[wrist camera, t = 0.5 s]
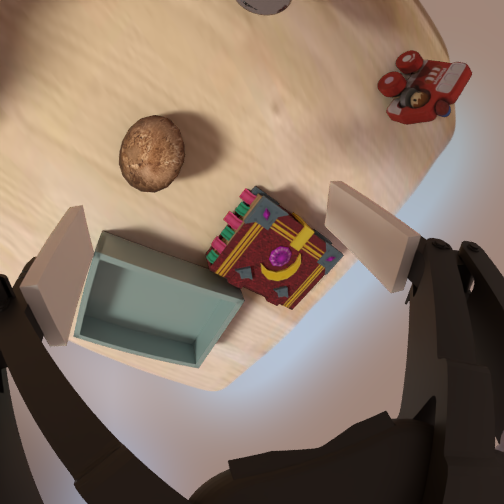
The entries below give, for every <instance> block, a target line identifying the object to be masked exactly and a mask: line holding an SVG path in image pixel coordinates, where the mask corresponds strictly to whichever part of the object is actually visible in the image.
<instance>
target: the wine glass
mask: <svg viewBox="0 0 504 504" xmlns="http://www.w3.org/2000/svg"><path fill="white" fill-rule="evenodd" d="M236 1H237V2H238V3H239V4H240V5H241V6H242V7H243V8H244V9H246V10H248V11H250V12H252V13H255V14H259V15H273V14H277V13H279V12H281V11H283V10H284V9H286V8H287V7H288V5H289V4H290V2H291V0H236Z"/></svg>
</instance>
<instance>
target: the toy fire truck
mask: <svg viewBox="0 0 504 504" xmlns="http://www.w3.org/2000/svg"><path fill="white" fill-rule="evenodd" d="M396 66H397V67H398V68H399V70H400V71H401V72H402V73H404V74H410V73H411V76H410V78H409V79H408V81H407V82H406V80H405V78H404V77H403V76H402V74H401V73H399V72H390V73H388V74H386V75H384V76H383V77H382V78H381V79H380V80H379V82H378V89H379V90H380V92H381V93H382V94H383V95H384V96H387V97H392V98H394V100H393V101H392V102H391V104H390V105H389V107H388V108H387V110H386V112H387V114H388V116H389V117H390V118H391V120H393V121H396V122H400V123H403V124H413V123H420V122H429V121H432V120H434V119H435V118H436V117H437V115H439V116H442V117H447V116H448V115H449V114H450V112H451V108H450V106H449V105H450V104H453V103H455V102H456V100H457V99H458V97H459V95H460V94H461V92H462V91H463V89H464V87H465V86H466V84H467V82H468V81H469V79H470V77H471V75H472V72H471V70H470V68H469V66H468V65H467V64H465V63H461V62H454V63H447V62H440V61H432V60H424V61H423V59H422V57H421V56H420V54H419V53H418V52H416V51H407V52H405V53H403V54H401V55H400V56H399V57H398V59H397V60H396Z"/></svg>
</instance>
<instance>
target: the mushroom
mask: <svg viewBox="0 0 504 504" xmlns="http://www.w3.org/2000/svg"><path fill="white" fill-rule="evenodd" d="M184 157H185V152H184V143H183V140H182V137H181V133H180V130H179V129H178V128H177V127H176V126H175V125H174V123H173V122H172V121H171V120H170V119H168V118H164V117H161V116H157V115H153V116H149V117H145V118H142V119H140V120H138V121H137V122H136V123H135V124H134V125H133V126H132V127H130V129H129V130H128V132H127V134H126V135H125V137H124V139H123V141H122V144H121V148H120V154H119V165H120V169H121V172H122V175H123V177H124V178H125V179H126V180H127V182H128V183H129V184H130V185H131V186H133V187H134V188H136V189H138V190H140V191H142V192H154V193H155V192H157V191H160V190H162V189H164V188H167V187H168V186H169V185H170V184H171V183H172V182H173V180H174V179H175V178H176V177H177V176H178V174H179V171H180V169H181V167H182V165H183V162H184Z"/></svg>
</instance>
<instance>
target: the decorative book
mask: <svg viewBox="0 0 504 504" xmlns="http://www.w3.org/2000/svg"><path fill="white" fill-rule="evenodd" d="M239 197H240V198H241V199H242V200H243V202H241V203H240V204H239V206H238V207H237V208H236V209H235V211H236V212H237V213H236V214H235V215H234V214H233V213H232V212H230V211H229V212H228V214H227V215H226V216H225V218H224V219H223V220H224V221H225V222H227V223H228V225H227V226H226V227H225V229H224V230H223V231H222V232H221V234H220V235H219V237H218V236H217V237H216V238H215V239H214V241H213V242H212V243H211V245H212V246H211V247H210V249H209V250H208V251H207V253H206V258H207V262H208V266H209V270H210V271H212V272H214V273H216V274H218V275H220V276H222V277H224V278H226V279H227V280H228V283H230V284H232V285H234V286H236V287H238V288H240V289H241V288H242V287H245V288H247V289H249V290H251V291H253V292H255V293H257V294H259V295H262V296H264V297H265V299H266V301H268V302H270V303H272V304H274V305H276V306H278V305H279V304H281V305H283V306H285V307H287V308H289V309H291V310H293V308H294V307H295V306H296V305H297V304H298V303H299V302H300V301H301V300H302V299H303V298H304V297H305V296H306V295H307V293H308V292H309V291H310V290H311V289H312V288H313V287H314V286H315V285H316V284H317V282H318V281H319V280H320V279H321V278H322V277H323V276H324V275H327V274H328V272H329V271H330V270H331V269H332V268H333V267H334V266H335V265H336V264H337V262H338V261H339V260H340V259H341V258H342V257H343V256H344V255H343V254H342V253H341V252H340V251H338V250H337V249H336V248H334V247H333V246H332V245H331V244H332V243H331V242H330V241H329V240H328V239H327V238H325V237H324V236H323V235H321V234H320V233H319V232H317V231H316V230H315V229H314V230H313V229H311V228H310V227H309V226H308V225H307V224H306V223H305V222H304V221H303V219H302V218H300V217H299V216H298V215H296V214H295V213H294V212H293V213H292V214H291V213H290V212H288V211H287V210H286V209H284V208H283V207H282V206H280V205H279V203H278V202H277V201H275V200H274V199H273V198H271V197H270V196H269V195H267V194H266V193H264V192H263V191H262V190H260V189H259V188H257V187H256V186H255V187H254V188H253V189H252V191H251V192H250V191H249V190H247V189H246V188H245V190H244V191H243V192H242V194H241V195H240V196H239Z"/></svg>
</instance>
